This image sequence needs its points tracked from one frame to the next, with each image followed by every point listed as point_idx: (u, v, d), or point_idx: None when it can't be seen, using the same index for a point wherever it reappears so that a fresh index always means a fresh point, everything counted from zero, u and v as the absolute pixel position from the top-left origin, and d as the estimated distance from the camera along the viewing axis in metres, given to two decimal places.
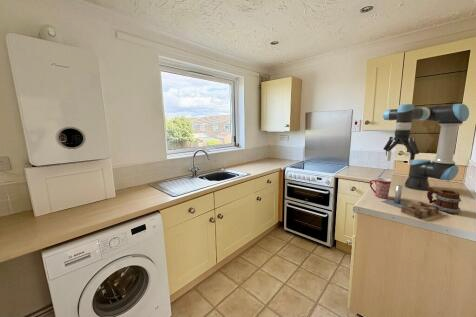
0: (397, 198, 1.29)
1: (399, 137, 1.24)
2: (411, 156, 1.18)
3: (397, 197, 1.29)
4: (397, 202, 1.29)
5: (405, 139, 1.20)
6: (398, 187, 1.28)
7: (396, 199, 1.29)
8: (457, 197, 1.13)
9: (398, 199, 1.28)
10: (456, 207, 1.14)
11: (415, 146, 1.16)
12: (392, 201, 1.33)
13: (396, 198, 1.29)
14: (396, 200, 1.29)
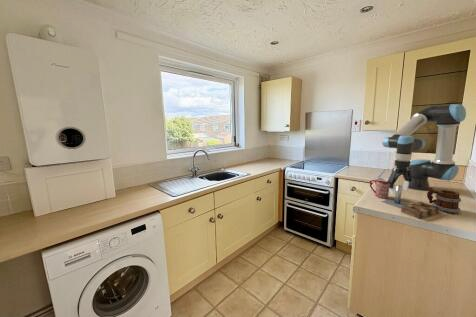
0: (397, 198, 1.29)
1: None
2: None
3: (397, 197, 1.29)
4: (397, 202, 1.29)
5: None
6: (398, 187, 1.28)
7: (396, 199, 1.29)
8: (457, 197, 1.13)
9: (398, 199, 1.28)
10: (456, 207, 1.14)
11: (392, 176, 1.24)
12: (392, 201, 1.33)
13: (396, 198, 1.29)
14: (396, 200, 1.29)
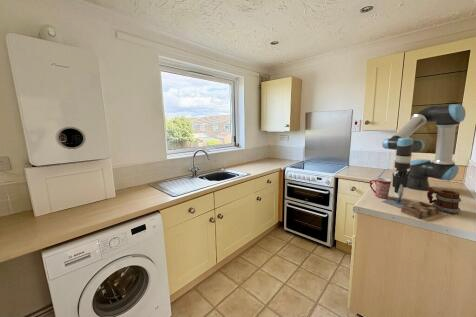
0: None
1: None
2: (395, 189, 1.29)
3: None
4: (398, 201, 1.29)
5: None
6: None
7: (396, 198, 1.29)
8: (457, 197, 1.13)
9: (398, 198, 1.28)
10: (456, 207, 1.14)
11: (394, 181, 1.26)
12: (392, 201, 1.33)
13: (396, 197, 1.29)
14: (396, 199, 1.29)
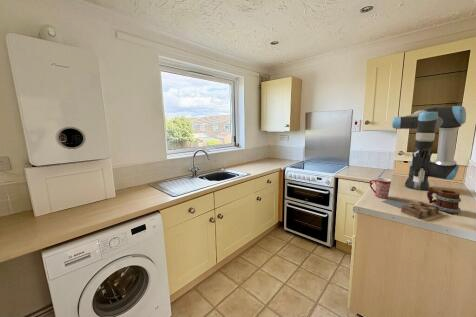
0: (417, 182, 1.11)
1: None
2: None
3: None
4: (417, 187, 1.11)
5: None
6: None
7: (416, 184, 1.12)
8: (457, 197, 1.13)
9: (418, 183, 1.11)
10: (456, 207, 1.14)
11: (414, 162, 1.08)
12: (392, 201, 1.33)
13: (416, 182, 1.12)
14: (416, 185, 1.12)
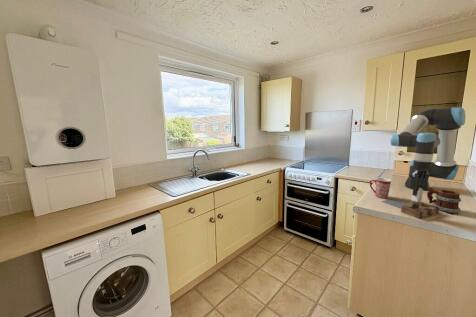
0: None
1: None
2: None
3: None
4: (416, 206, 1.13)
5: None
6: None
7: (414, 203, 1.13)
8: (457, 197, 1.13)
9: (417, 203, 1.12)
10: (456, 207, 1.14)
11: (413, 182, 1.09)
12: (392, 201, 1.33)
13: (414, 201, 1.13)
14: (414, 204, 1.13)
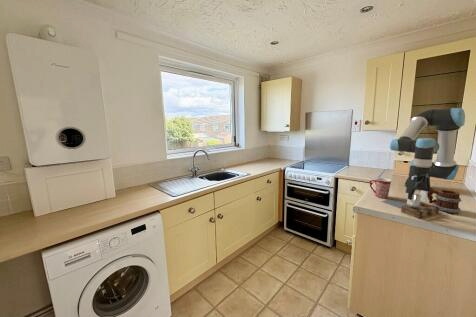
0: (415, 209, 1.13)
1: None
2: None
3: (414, 208, 1.13)
4: None
5: None
6: (416, 196, 1.12)
7: None
8: (457, 197, 1.13)
9: None
10: (456, 207, 1.14)
11: (410, 185, 1.09)
12: (392, 201, 1.33)
13: None
14: None
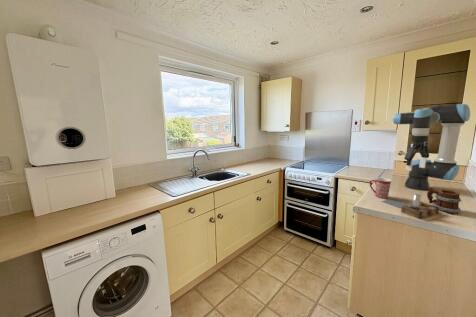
0: (415, 209, 1.13)
1: None
2: (407, 161, 1.19)
3: (414, 208, 1.13)
4: None
5: None
6: (416, 197, 1.12)
7: None
8: (457, 197, 1.13)
9: None
10: (456, 207, 1.14)
11: (409, 152, 1.17)
12: (392, 201, 1.33)
13: None
14: None
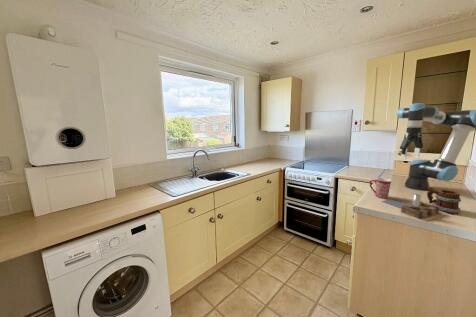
0: (415, 209, 1.13)
1: None
2: None
3: (414, 208, 1.13)
4: None
5: None
6: (416, 196, 1.12)
7: None
8: (457, 197, 1.13)
9: None
10: (456, 207, 1.14)
11: (404, 142, 1.30)
12: (392, 201, 1.33)
13: None
14: None
